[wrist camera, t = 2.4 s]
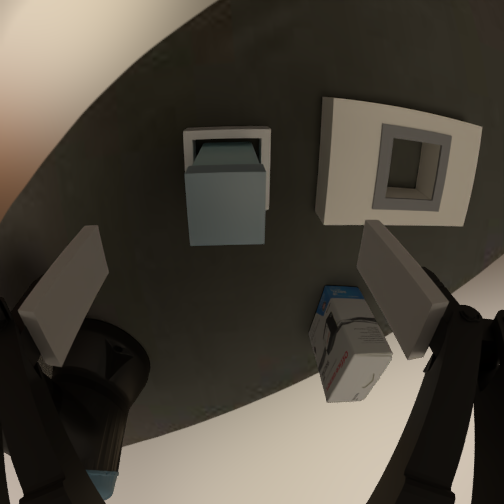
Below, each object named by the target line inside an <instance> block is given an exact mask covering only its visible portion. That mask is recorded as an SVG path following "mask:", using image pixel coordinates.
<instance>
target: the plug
mask: <svg viewBox="0 0 504 504" xmlns="http://www.w3.org/2000/svg"><path fill="white" fill-rule="evenodd" d="M185 189H186V202H187V215H188V227H189V238H190V246H204V245H243V244H264V240H265V202H266V170H265V168H264V165H263V164H260V163H259V161H258V158H257V156H256V153H255V151H254V148H253V145H252V143H251V142H214V143H203V145H202V147H201V149H200V151H199V153H198V155H197V157H196V159H195V161H194V163H193V165H192V166H188V168H187V170H186V172H185Z"/></svg>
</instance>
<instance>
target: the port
mask: <svg viewBox="0 0 504 504" xmlns="http://www.w3.org/2000/svg"><path fill="white" fill-rule="evenodd" d="M481 133H482V127H480V126H477V125H473V124H470V123H467V122H463V121H459V120H456V119H452V118H448V117H444V116H440V115H436V114H431V113H427V112H422V111H417V110H412V109H407V108H402V107H397V106H391V105H385V104H379V103H372V102H365V101H358V100H350V99H341V98H331V97H322V118H321V137H320V153H319V167H318V180H317V192H316V204H315V212H316V214H317V215H318V217H319V219H320V220H321V222H322V223H323V225H364V224H365V220H379V221H380V222H381V223H382V224H383V225H427V226H463V224H464V220H465V216H466V213H467V208H468V204H469V200H470V196H471V191H472V187H473V182H474V177H475V171H476V166H477V160H478V154H479V148H480V141H481ZM393 138H398V139H405V140H412V141H418V142H422V148H421V155H420V162H419V169H418V175H417V181H416V187H415V189H411V188H397V187H387V184H388V177H389V170H390V162H391V154H392V145H393Z"/></svg>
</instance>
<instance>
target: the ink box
mask: <svg viewBox="0 0 504 504" xmlns="http://www.w3.org/2000/svg"><path fill="white" fill-rule="evenodd" d="M308 334H309V338H310V341H311V344H312V348H313V352H314V355H315V359H316V363H317V366H318V370H319V373H320V377H321V381H322V385H323V389H324V392H325V396H326V401H327V402H328V403H331V402H352V401H361V400H363V399H365V398H366V397H367V395H368V394H369V392H370V391H371V389H372V388H373V386H374V385H375V384H376V382H377V381H378V380H379V378H380V376H381V375H382V373H383V372H384V370H385V369H386V368H387V366H388V364H389V363H390V361H391V360H392V354H393V353H392V351H391V349H390V347H389V345H388V343H387V341H386V339H385V337H384V335H383V333H382V331H381V329H380V327H379V325H378V323H377V322H376V320H375V318H374V316H373V314H372V312H371V310H370V308H369V306H368V305H367V303H366V301H365V299H364V297H363V295H362V293H361V292H360V290H359V288H358V287H346V286H325V288H324V291H323V294H322V297H321V300H320V303H319V305H318V308H317V311H316V314H315V317H314V320H313V322H312V325H311V328H310V331H309V333H308Z"/></svg>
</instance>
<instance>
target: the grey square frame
mask: <svg viewBox="0 0 504 504" xmlns="http://www.w3.org/2000/svg"><path fill="white" fill-rule="evenodd" d="M224 138H259V163H260V164H263V165H264V168H265V170H266V202H265V210H269V187H270V148H271V129H270V128H269V127H268V126H223V127H197V128H186V129H185V130H184V131H183V142H184V161H185V172H186V170H187V168H188V166H192V165H193V163H194V161H195V159H196V140H197V139H224Z"/></svg>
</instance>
